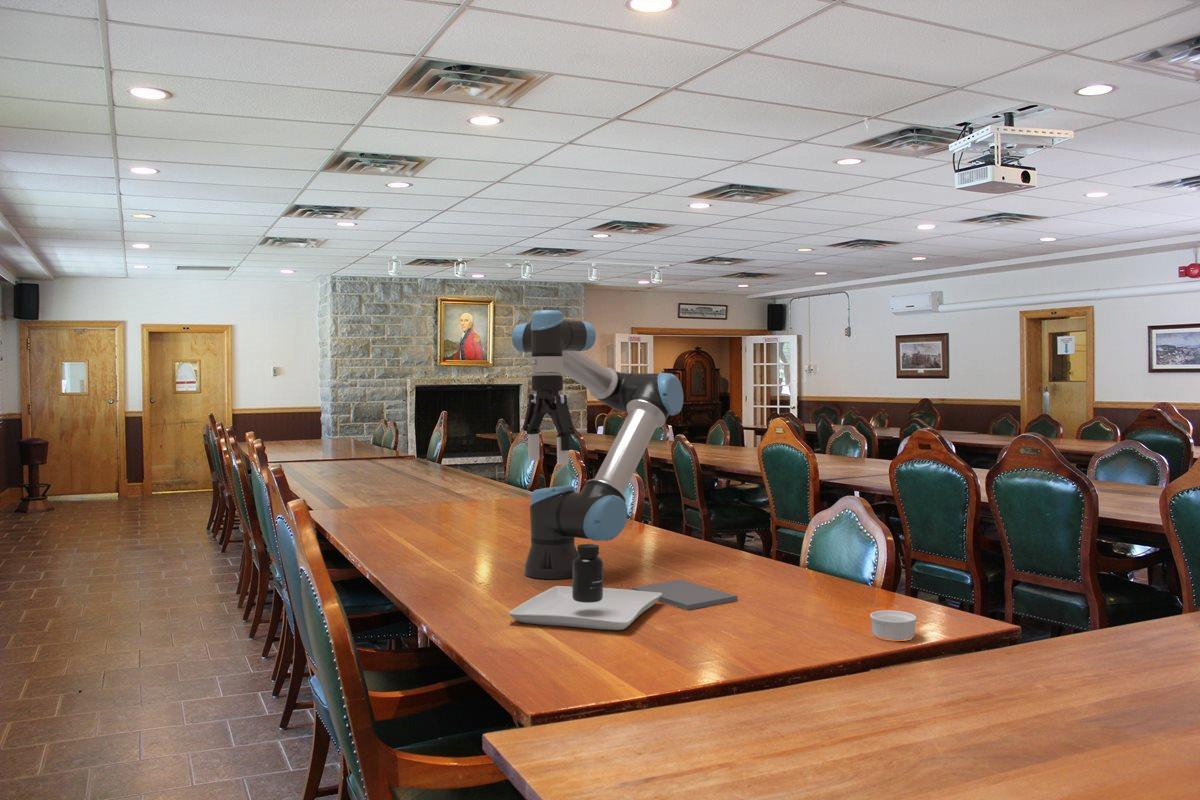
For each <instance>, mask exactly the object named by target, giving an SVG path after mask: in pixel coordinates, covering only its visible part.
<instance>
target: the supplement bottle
mask: <svg viewBox="0 0 1200 800" xmlns="http://www.w3.org/2000/svg"><path fill="white" fill-rule="evenodd" d="M576 550H577V554H578V557H576V558H575V559H574V560H573V574H572V577H571V578H572V579H571V580H572V583H571V584H572V586H571V587H572V598H573V600H575V601H577V602H584V603H592V602H598V601H601V600H602V598H603V588H604V561H603V559H602V558H601V557H599V555H600V546H599V545H598V544H594V543H593V544H591V543H582V544H577V546H576Z"/></svg>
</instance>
